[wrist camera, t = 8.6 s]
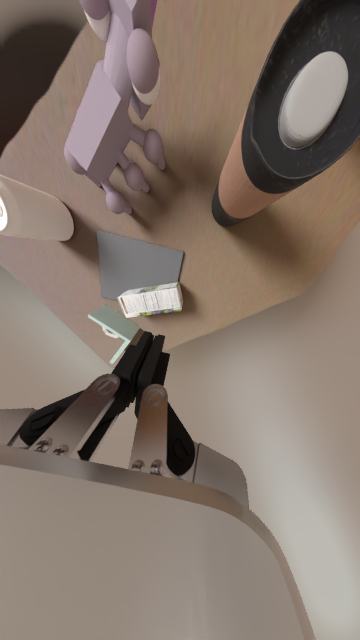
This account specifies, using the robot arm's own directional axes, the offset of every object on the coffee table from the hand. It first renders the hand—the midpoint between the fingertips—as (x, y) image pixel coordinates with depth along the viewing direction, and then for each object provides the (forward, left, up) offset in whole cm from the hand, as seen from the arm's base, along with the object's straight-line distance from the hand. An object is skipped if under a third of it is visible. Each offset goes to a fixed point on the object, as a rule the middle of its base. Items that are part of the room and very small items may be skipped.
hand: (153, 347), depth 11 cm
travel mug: (-17, +7, -26) cm, 31 cm away
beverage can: (-7, -29, -26) cm, 40 cm away
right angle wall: (+19, -17, -26) cm, 37 cm away
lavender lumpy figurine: (-21, -11, -26) cm, 35 cm away
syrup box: (+2, +1, -22) cm, 22 cm away
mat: (+1, -10, -25) cm, 27 cm away
